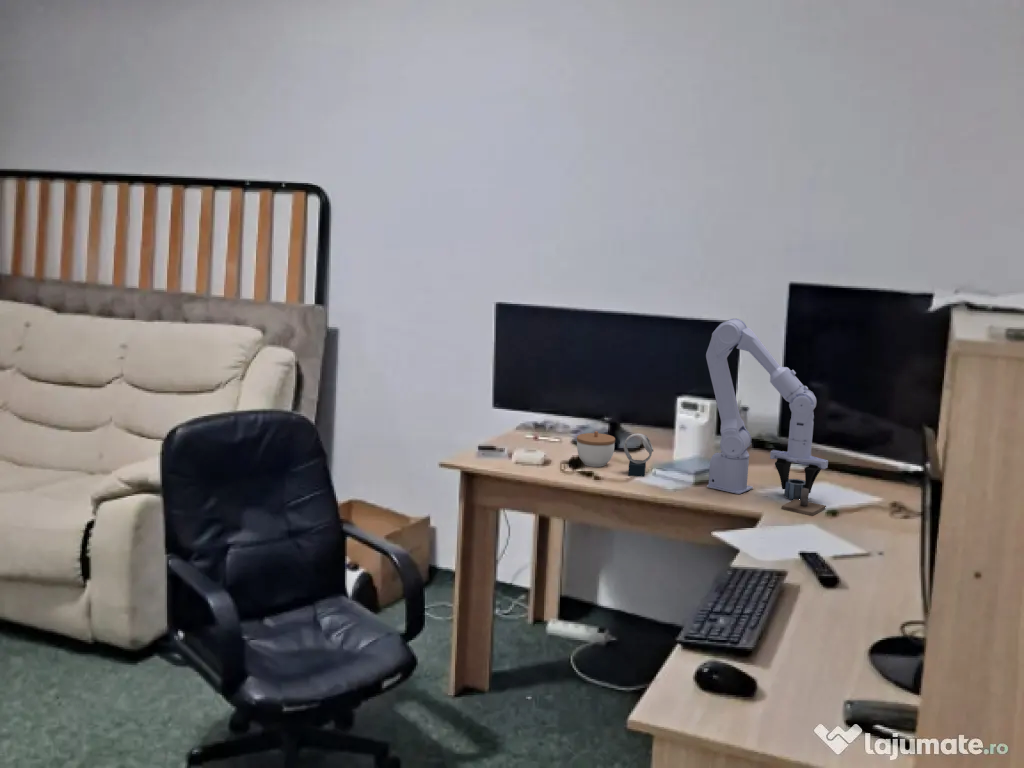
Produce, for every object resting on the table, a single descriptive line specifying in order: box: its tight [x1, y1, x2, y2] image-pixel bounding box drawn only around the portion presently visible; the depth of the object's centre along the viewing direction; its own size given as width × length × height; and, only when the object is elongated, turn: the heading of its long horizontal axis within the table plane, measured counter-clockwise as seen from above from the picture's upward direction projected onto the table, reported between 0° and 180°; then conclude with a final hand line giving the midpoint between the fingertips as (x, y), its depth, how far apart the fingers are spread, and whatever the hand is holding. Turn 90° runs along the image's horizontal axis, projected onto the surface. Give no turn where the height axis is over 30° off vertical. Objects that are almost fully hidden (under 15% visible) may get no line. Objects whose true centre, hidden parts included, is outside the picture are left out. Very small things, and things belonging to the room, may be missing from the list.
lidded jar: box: [576, 430, 616, 468], centre depth 287 cm, size 11×11×9 cm
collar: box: [783, 478, 805, 500], centre depth 261 cm, size 6×6×4 cm
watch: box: [623, 432, 654, 478], centre depth 278 cm, size 6×8×11 cm
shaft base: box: [780, 488, 827, 517], centre depth 251 cm, size 8×8×5 cm
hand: (796, 490), depth 261 cm, fingers closed on collar, 5 cm apart
